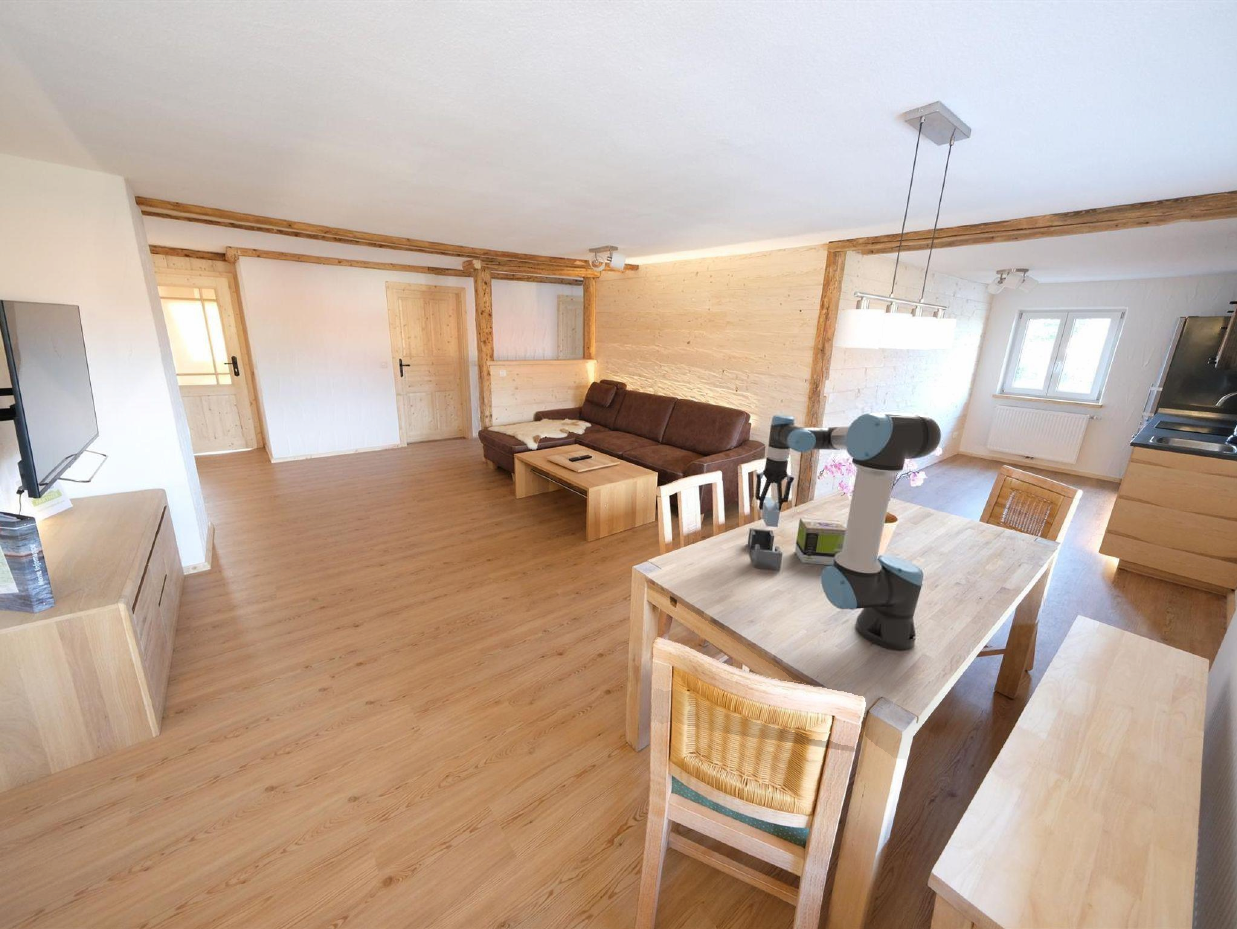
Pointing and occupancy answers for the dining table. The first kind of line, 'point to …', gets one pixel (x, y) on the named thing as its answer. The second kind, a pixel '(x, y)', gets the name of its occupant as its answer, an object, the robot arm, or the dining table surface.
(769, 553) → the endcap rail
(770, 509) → the blue-grey block
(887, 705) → the dining table surface
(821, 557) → the tea box
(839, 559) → the robot arm
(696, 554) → the dining table surface
